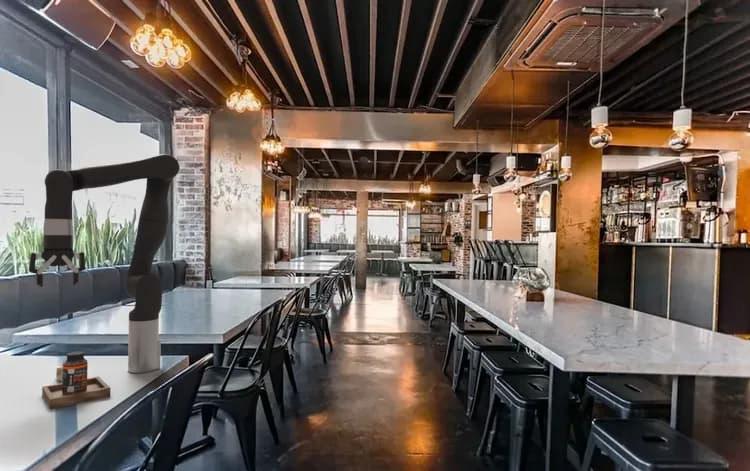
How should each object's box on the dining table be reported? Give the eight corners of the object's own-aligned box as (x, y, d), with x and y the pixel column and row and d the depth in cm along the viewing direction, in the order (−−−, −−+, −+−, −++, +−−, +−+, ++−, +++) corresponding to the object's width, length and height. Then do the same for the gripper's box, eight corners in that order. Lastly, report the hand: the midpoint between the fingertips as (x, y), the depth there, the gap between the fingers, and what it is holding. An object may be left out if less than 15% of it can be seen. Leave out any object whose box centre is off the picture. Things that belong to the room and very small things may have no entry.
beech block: (75, 375, 147) (75, 362, 147) (75, 378, 143) (75, 365, 143) (56, 377, 144) (57, 365, 144) (56, 380, 141) (56, 368, 141)
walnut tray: (98, 384, 137) (98, 376, 137) (110, 396, 127) (110, 387, 127) (42, 395, 127) (42, 386, 127) (49, 409, 117) (50, 399, 117)
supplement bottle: (74, 397, 123) (75, 356, 123) (56, 395, 124) (57, 355, 124) (92, 390, 129) (92, 350, 129) (74, 388, 130) (75, 349, 130)
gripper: (82, 234, 147) (81, 283, 147) (28, 233, 138) (27, 286, 137) (87, 234, 142) (86, 285, 142) (31, 233, 132) (30, 288, 132)
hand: (57, 285), depth 140 cm, fingers open, 8 cm apart
